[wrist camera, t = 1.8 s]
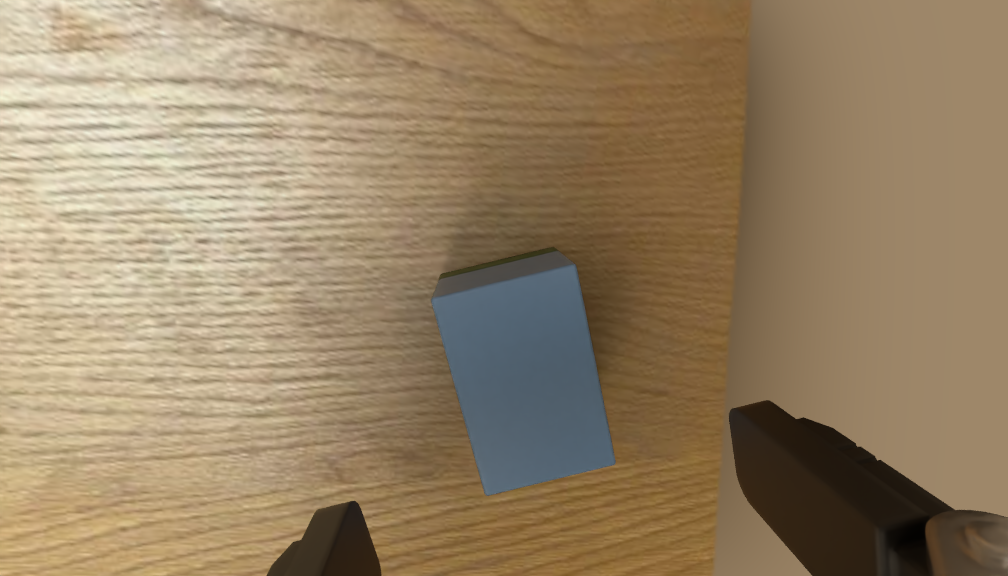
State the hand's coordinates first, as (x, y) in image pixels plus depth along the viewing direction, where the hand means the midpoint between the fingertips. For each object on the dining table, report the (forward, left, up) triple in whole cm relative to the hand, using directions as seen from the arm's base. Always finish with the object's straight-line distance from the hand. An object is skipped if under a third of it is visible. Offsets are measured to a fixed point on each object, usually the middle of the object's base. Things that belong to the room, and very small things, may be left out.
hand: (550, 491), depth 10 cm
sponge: (0, 0, -9) cm, 9 cm away
